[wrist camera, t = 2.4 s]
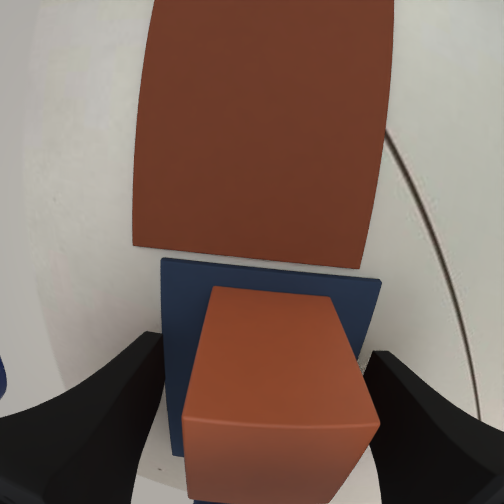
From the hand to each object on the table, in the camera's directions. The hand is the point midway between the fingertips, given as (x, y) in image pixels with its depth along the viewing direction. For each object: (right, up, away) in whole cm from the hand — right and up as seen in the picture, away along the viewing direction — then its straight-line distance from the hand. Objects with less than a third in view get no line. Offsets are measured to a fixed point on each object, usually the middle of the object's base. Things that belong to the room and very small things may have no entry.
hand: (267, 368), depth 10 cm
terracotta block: (0, +1, +2) cm, 2 cm away
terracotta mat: (0, +9, -1) cm, 10 cm away
